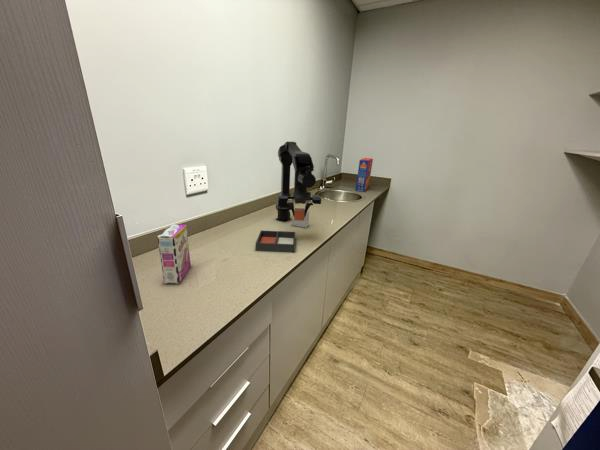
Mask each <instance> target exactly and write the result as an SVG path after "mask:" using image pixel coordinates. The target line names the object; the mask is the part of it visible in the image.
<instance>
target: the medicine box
mask: <svg viewBox="0 0 600 450" xmlns="http://www.w3.org/2000/svg"><path fill="white" fill-rule="evenodd" d="M294 212H295V209H294ZM309 221H310V210H308V211H307V213H306V216H305V217H304V221H299V220H294V217H293V216H292V226H293V227H298V228H305V229H307V228H308V227H309Z"/></svg>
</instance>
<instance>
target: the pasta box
mask: <svg viewBox="0 0 600 450" xmlns="http://www.w3.org/2000/svg"><path fill="white" fill-rule="evenodd" d="M373 161H374V159H373V158H370V157H363V158H361V159H359V163H358V169H357V177H356V185H355V192H360V193H361V192H362V193H365V192H366V191H367V190H368V189H369V187H370V181H371V174H372V168H373Z"/></svg>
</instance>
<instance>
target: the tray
mask: <svg viewBox="0 0 600 450" xmlns="http://www.w3.org/2000/svg"><path fill="white" fill-rule="evenodd" d="M295 244H296V231H282V230H280V231H279V230H262V229H261V230H260V232H259V234H258V237H257V239H256V241H255V251H257V252H277V253H278V252H279V253H295V248H296V245H295Z"/></svg>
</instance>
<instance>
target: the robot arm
mask: <svg viewBox="0 0 600 450" xmlns="http://www.w3.org/2000/svg"><path fill="white" fill-rule="evenodd" d="M277 157H278V161H279V163H280V164H281V179H280V181H281V183H280V193H279V194H278V196H277V200H276V203H275V210H276V211H277V218H275V220H277V221H280V222H288V221H290V220H292V218H293V217H294V213H295V212H294V210H295V204H297V205H298V204H302V205H305V206H304V210H305V213H304V217H305V216H306V213H307V211H309V209H310V207H311V206H313V205H322V197H321V195H319V194H312V192H311V191H308V189H310V188H313V187H314V186H315V185H316V183H317V182H316V181H317V179H316V177H315V175H314V174H313V172H314V168H315V165H314V163H313V159H312V156H311V154H310V153H308V152H306V151H303V150H302V149H300V147H299V146H298V145H297V142H296V141H288V140H287V141H285V142H284V144H282V145H281V146H279V148H278V150H277ZM291 166H293V169H294V182H293V187H294V188H293V195H291V193H290V188H291V187H290V185H291ZM291 213H292V217H291Z"/></svg>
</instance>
